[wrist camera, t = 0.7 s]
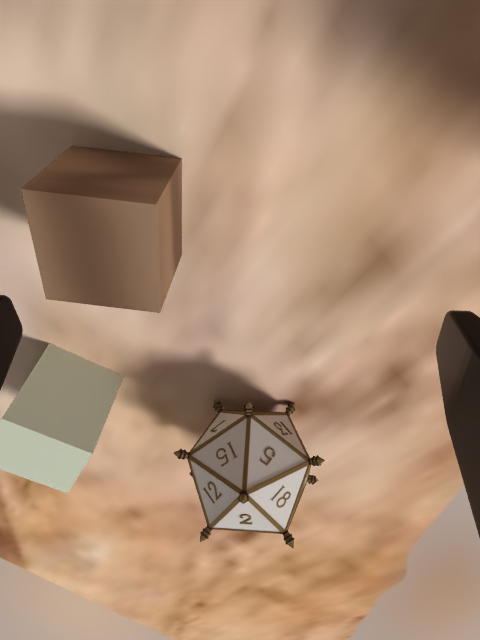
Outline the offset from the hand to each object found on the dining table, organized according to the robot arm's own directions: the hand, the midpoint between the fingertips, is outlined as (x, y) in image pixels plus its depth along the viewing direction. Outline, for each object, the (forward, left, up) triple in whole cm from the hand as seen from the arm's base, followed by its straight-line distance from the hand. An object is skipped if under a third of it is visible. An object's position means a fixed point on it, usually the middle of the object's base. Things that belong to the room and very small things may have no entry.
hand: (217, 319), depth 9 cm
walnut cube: (+5, +5, -13) cm, 15 cm away
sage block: (+6, +19, -13) cm, 24 cm away
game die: (-6, +17, -13) cm, 23 cm away
